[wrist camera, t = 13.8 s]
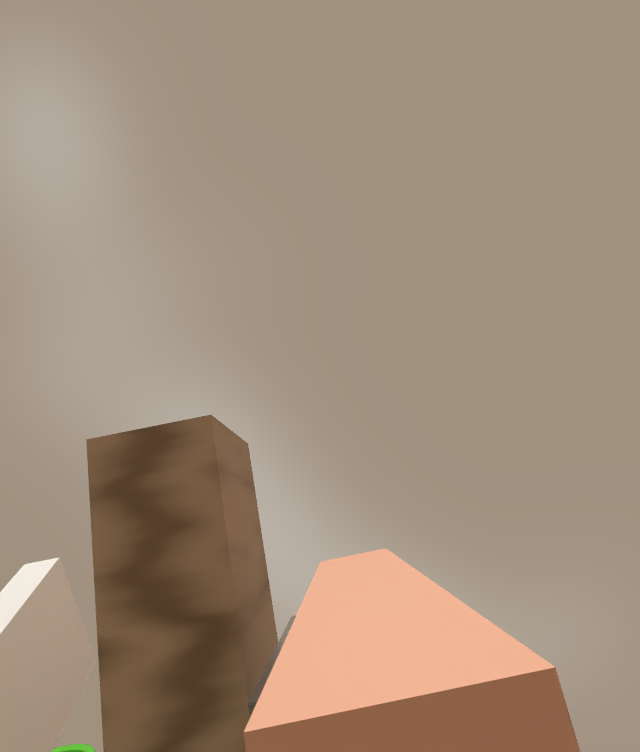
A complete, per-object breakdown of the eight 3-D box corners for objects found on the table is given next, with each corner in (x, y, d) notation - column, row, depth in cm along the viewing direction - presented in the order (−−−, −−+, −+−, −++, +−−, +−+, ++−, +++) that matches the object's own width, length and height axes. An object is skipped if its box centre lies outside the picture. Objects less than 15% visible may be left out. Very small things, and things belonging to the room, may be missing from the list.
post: (133, 1295, 18) (86, 439, 27) (211, 1004, 28) (158, 461, 37) (321, 1252, 18) (211, 414, 27) (329, 978, 28) (247, 443, 37)
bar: (301, 1183, 5) (244, 732, 6) (334, 634, 28) (320, 561, 29) (683, 1100, 5) (554, 667, 6) (401, 620, 28) (385, 548, 29)
